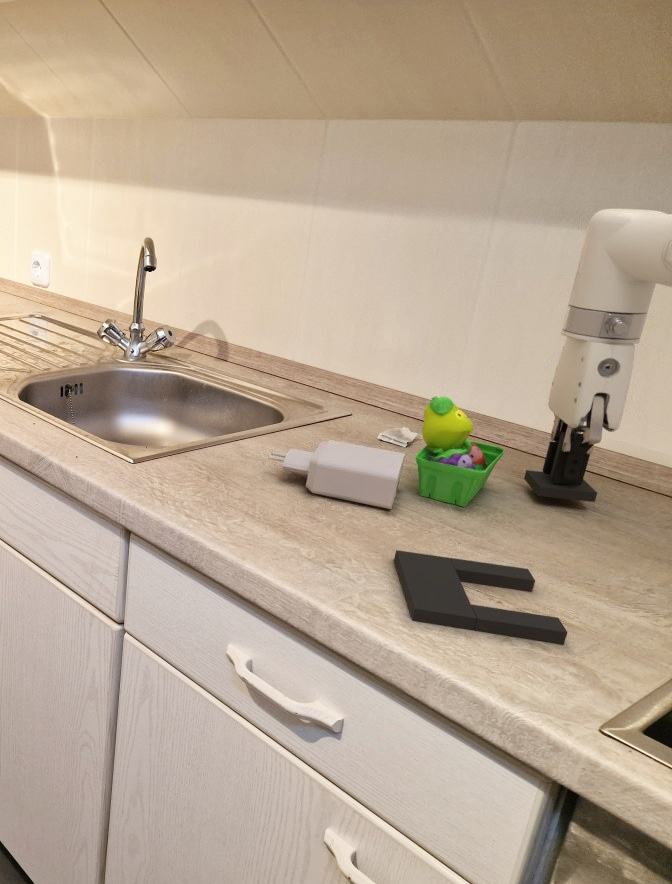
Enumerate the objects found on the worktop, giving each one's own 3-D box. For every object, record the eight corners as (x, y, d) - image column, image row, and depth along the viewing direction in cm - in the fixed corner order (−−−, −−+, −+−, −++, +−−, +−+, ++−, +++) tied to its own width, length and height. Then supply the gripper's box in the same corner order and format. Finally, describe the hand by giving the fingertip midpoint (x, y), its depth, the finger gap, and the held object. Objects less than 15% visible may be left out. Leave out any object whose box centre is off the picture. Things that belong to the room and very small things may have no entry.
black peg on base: (577, 484, 104) (592, 430, 102) (594, 502, 99) (611, 444, 96) (523, 479, 105) (537, 424, 103) (537, 496, 100) (552, 439, 97)
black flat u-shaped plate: (524, 579, 82) (528, 568, 82) (563, 644, 71) (568, 632, 71) (393, 560, 85) (396, 549, 84) (412, 620, 74) (415, 608, 74)
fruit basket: (473, 514, 97) (498, 419, 93) (394, 492, 102) (414, 402, 98) (496, 487, 105) (519, 399, 101) (422, 469, 110) (441, 384, 106)
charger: (275, 462, 110) (398, 487, 104) (258, 485, 102) (390, 512, 96) (280, 427, 108) (406, 450, 102) (264, 448, 101) (399, 473, 94)
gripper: (672, 341, 87) (622, 507, 93) (613, 316, 101) (573, 461, 108) (590, 335, 88) (546, 499, 95) (544, 311, 103) (509, 455, 110)
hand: (561, 477), depth 101 cm, fingers closed on black peg on base, 2 cm apart
